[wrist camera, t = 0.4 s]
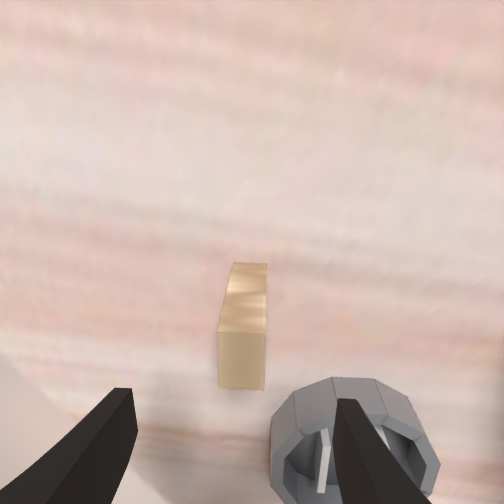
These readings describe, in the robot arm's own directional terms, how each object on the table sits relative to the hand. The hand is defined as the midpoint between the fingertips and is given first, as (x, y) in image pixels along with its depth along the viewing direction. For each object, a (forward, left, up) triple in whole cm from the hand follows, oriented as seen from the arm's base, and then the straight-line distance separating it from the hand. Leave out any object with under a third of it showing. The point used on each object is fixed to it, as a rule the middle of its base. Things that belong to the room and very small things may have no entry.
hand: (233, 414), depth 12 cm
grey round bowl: (-7, +12, -10) cm, 17 cm away
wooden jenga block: (0, 0, -10) cm, 10 cm away
